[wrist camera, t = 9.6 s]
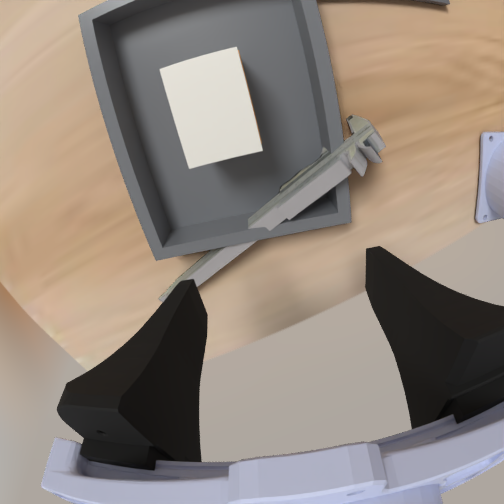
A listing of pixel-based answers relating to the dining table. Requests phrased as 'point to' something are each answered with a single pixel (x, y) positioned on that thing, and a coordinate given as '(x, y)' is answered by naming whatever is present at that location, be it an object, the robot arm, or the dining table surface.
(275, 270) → the dining table surface
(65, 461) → the robot arm
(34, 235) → the dining table surface
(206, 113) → the white block
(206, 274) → the caliper
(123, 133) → the tray
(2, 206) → the dining table surface
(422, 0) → the board
